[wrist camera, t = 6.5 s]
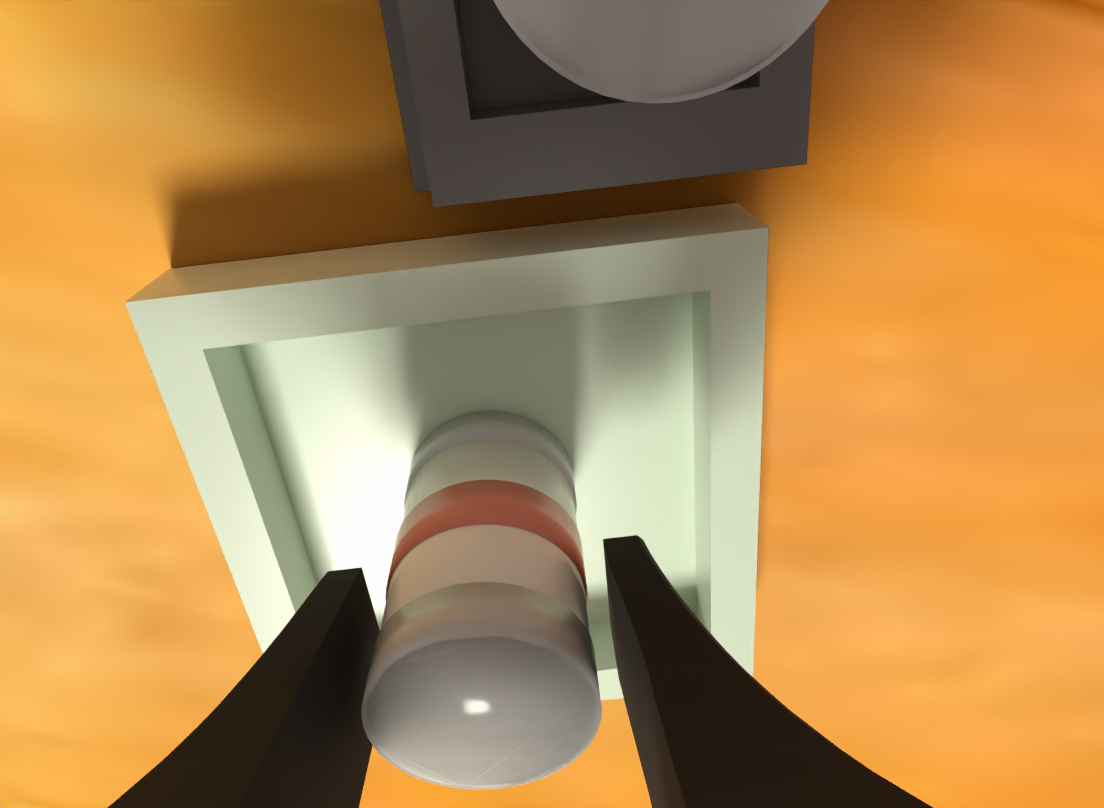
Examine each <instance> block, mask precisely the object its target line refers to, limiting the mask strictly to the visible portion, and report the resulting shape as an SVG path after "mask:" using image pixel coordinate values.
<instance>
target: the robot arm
mask: <svg viewBox="0 0 1104 808" xmlns="http://www.w3.org/2000/svg"><path fill="white" fill-rule="evenodd" d="M603 546H604V558H605V569H606V580H607V592H608V603H609V615H610V626H611V632H612V639H613V645H614V652H615V658H616V664H617V671H618V677H619V681H620V685H621V689H622V693H623V697H624V700H625V704H626V708H627V712H628V716H629V720H630V723H631V727H632V731H633V735H634V739H635V742H636V746H637V750H638V754H639V757H640V761H641V765H642V769H643V773H644V776H645V780H646V784H647V788H648V792H649V795H650V800H651V804H652V808H933V807H931V806H929V805H928V804H926V803H924V802H923V801H921V800H919V799H918V798H916V797H914V796H913V795H911V794H909V793H908V792H906V791H904V790H903V789H901V788H899V787H898V786H896V785H894V784H893V783H891V782H889V781H888V780H886V779H884V778H883V777H881V776H879V775H878V774H876V773H874V772H873V771H871V770H870V769H868V768H867V767H865V766H864V765H863V764H861V763H860V762H858V761H857V760H855V759H854V758H852V757H851V756H850V755H848V754H847V753H845V752H844V751H842V750H841V749H839V748H838V747H837V746H835V745H834V744H833V743H831V742H830V741H829V740H828V739H826V738H825V737H824V736H822V735H821V734H820V733H819V732H817V731H816V730H815V729H813V728H812V727H811V726H809V725H808V724H807V723H806V722H804V721H803V720H802V719H800V718H799V717H798V716H797V715H795V714H794V713H793V712H791V711H790V710H789V709H788V708H787V707H785V706H784V705H783V704H782V703H781V702H780V701H779V700H777V699H776V698H775V697H774V696H773V695H772V694H771V693H769V692H768V691H767V690H766V689H765V688H764V687H763V686H762V685H761V684H760V683H759V682H757V681H756V680H755V679H754V678H753V677H752V676H751V675H750V674H749V673H748V672H747V671H746V670H745V669H744V668H743V667H742V666H741V665H740V664H739V663H738V662H737V661H736V660H735V659H734V658H733V657H732V656H731V655H730V654H729V653H728V652H727V651H726V650H725V649H724V648H723V647H722V645H721V644H720V643H719V642H718V641H717V640H716V639H715V638H714V637H713V636H712V634H711V633H710V632H709V631H708V630H707V629H706V628H705V626H704V625H703V624H702V623H701V622H700V621H699V619H698V618H697V617H696V616H695V614H694V613H693V612H692V611H691V609H690V608H689V607H688V606H687V604H686V603H685V602H684V601H683V599H682V598H681V597H680V596H679V594H678V593H677V592H676V590H675V589H674V587H673V586H672V585H671V583H670V582H669V580H668V579H667V578H666V576H665V575H664V573H663V572H662V570H661V569H660V567H659V566H658V564H657V563H656V561H655V560H654V558H653V556H652V555H651V553H650V551H649V549H648V548H647V546H646V544H645V542H644V540H643V539H642V538H640V537H639V536H638V535H633V536H625V537H616V538H607V539H603ZM379 632H380V629H379V626H378V622H377V619H376V615H375V612H374V608H373V605H372V601H371V598H370V594H369V591H368V587H367V584H366V580H365V577H364V573H363V570H362V567H360V568H352V569H343V570H335V571H328V572H327V573H326V574H325V575H324V577H323V578H322V579H321V580H320V582H319V583H318V584H317V585H316V587H315V588H314V589H313V591H312V592H311V593H310V594H309V596H308V597H307V598H306V600H305V601H304V602H303V604H302V605H301V606H300V608H299V609H298V610H297V611H296V613H295V614H294V615H293V617H292V618H291V619H290V621H289V622H288V623H287V624H286V626H285V627H284V628H283V630H282V631H281V632H280V633H279V635H278V636H277V637H276V638H275V640H274V641H273V642H272V643H271V644H270V646H269V647H268V648H267V649H266V651H265V652H264V653H263V654H262V656H261V657H260V658H259V659H258V661H257V662H256V663H255V664H254V665H253V667H252V668H251V669H250V670H249V671H248V672H247V674H246V675H245V676H244V677H243V678H242V679H241V680H240V681H239V683H238V684H237V685H236V686H235V687H234V688H233V689H232V691H231V692H230V693H229V694H228V695H227V696H226V697H225V698H224V700H223V701H222V702H221V703H220V704H219V705H218V706H217V707H216V708H215V710H214V711H213V712H212V713H211V714H210V715H209V716H208V717H207V718H206V719H205V720H204V721H203V722H202V723H201V724H200V725H199V726H198V727H197V728H196V729H195V730H194V731H193V732H192V733H191V734H190V735H189V736H188V737H187V738H186V739H185V740H184V741H183V742H182V743H181V744H179V745H178V746H177V747H176V748H175V749H174V750H173V751H172V752H171V753H170V754H169V755H168V756H167V757H166V758H165V759H164V760H163V761H161V762H160V763H159V764H158V765H157V766H156V767H155V768H153V769H152V770H151V771H150V772H149V773H148V774H146V775H145V776H144V777H143V778H142V779H141V780H139V781H138V782H137V783H136V784H135V785H134V786H132V787H131V788H130V789H129V790H128V791H127V792H125V793H124V794H123V795H122V796H121V797H120V798H119V799H117V800H116V801H115V802H114V803H113V804H112V805H110V806H109V807H108V808H359V803H360V799H361V794H362V790H363V785H364V781H365V776H366V772H367V767H368V763H369V758H370V754H371V749H372V743H371V742H370V740H369V739H368V737H367V735H366V732H365V730H364V727H363V722H362V702H363V698H364V693H365V688H366V683H367V678H368V673H369V668H370V663H371V659H372V654H373V649H374V645H375V641H376V639H377V637H378V634H379Z"/></svg>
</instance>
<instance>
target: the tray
mask: <svg viewBox="0 0 1104 808" xmlns="http://www.w3.org/2000/svg"><path fill="white" fill-rule="evenodd" d="M768 235H769V227H768V226H766V225H765V224H764V223H763V222H761V221H760V220H759V219H758V218H756V217H755V216H754V215H753V214H751V213H750V212H749V211H748V210H746V209H745V208H744V207H742V206H741V205H740V204H739V203H730V204H722V205H713V206H704V207H696V208H687V209H679V210H670V211H661V212H653V213H644V214H636V215H627V216H618V217H610V218H601V219H593V220H584V221H575V222H567V223H558V224H550V225H541V226H532V227H524V228H515V229H507V230H498V231H489V232H481V233H472V234H464V235H455V236H446V237H438V238H429V239H421V240H412V241H403V242H395V243H386V244H378V245H369V246H360V247H352V248H343V249H335V250H326V251H317V252H309V253H300V254H292V255H283V256H274V257H266V258H257V259H249V260H240V261H231V262H223V263H214V264H206V265H197V266H188V267H180V268H171V269H169V270H167V271H166V272H165V273H163V274H162V275H161V276H159V277H158V278H157V279H155V280H154V281H153V282H151V283H150V284H149V285H147V286H146V287H145V288H143V289H142V290H141V291H139V292H138V293H137V294H135V295H134V296H133V297H131V298H130V299H129V300H127V301H126V302H125V304H126V306H127V309H128V311H129V314H130V317H131V319H132V322H133V324H134V327H135V329H136V332H137V334H138V337H139V339H140V342H141V344H142V347H143V350H144V352H145V355H146V357H147V360H148V362H149V365H150V367H151V370H152V372H153V375H154V378H155V380H156V383H157V385H158V388H159V390H160V393H161V395H162V398H163V400H164V403H165V406H166V408H167V411H168V413H169V416H170V418H171V421H172V423H173V426H174V428H175V431H176V434H177V436H178V439H179V441H180V444H181V446H182V449H183V451H184V454H185V456H186V459H187V461H188V464H189V467H190V469H191V472H192V474H193V477H194V479H195V482H196V484H197V487H198V489H199V492H200V495H201V497H202V500H203V502H204V505H205V507H206V510H207V512H208V515H209V517H210V520H211V523H212V525H213V528H214V530H215V533H216V535H217V538H218V540H219V543H220V545H221V548H222V551H223V553H224V556H225V558H226V561H227V563H228V566H229V568H230V571H231V573H232V576H233V578H234V581H235V584H236V586H237V589H238V591H239V594H240V596H241V599H242V601H243V604H244V606H245V609H246V612H247V614H248V617H249V619H250V622H251V624H252V627H253V629H254V632H255V634H256V637H257V640H258V642H259V645H260V647H261V650H262V652H263V653H264V652H265V651H266V649H267V648H268V647H269V646H270V644H271V643H272V642H273V641H274V640H275V638H276V637H277V636H278V635H279V633H280V632H281V631H282V630H283V628H284V627H285V626H286V624H287V623H288V622H289V621H290V619H291V618H292V617H293V615H294V614H295V613H296V611H297V610H298V609H299V608H300V606H301V605H302V604H303V602H304V601H305V600H306V598H307V597H308V596H309V594H310V593H311V592H312V591H313V589H314V588H315V587H316V585H317V584H318V583H319V582H320V580H321V579H322V578H323V577H324V575H325V574H326V573H327V572H328V571H335V570H343V569H352V568H360V567H362V570H363V573H364V577H365V580H366V584H367V587H368V591H369V594H370V598H371V601H372V605H373V608H374V612H375V615H376V619H377V622H378V626H379V629H380V630H381V625H382V620H383V615H384V610H385V605H386V600H385V596H386V586H387V581H388V576H389V571H390V566H391V561H392V556H393V552H394V547H395V542H396V537H397V533H398V531H399V529H400V526H401V524H402V520H403V515H404V498H405V493H406V488H407V483H408V478H409V474H410V469H411V464H412V460H413V458H414V455H415V453H416V451H417V449H418V448H419V446H420V444H421V443H422V442H423V441H424V440H425V438H426V437H427V436H428V435H429V434H430V433H432V432H433V431H434V430H435V429H437V428H438V427H439V426H441V425H442V424H444V423H446V422H448V421H450V420H452V419H455V418H457V417H460V416H463V415H467V414H471V413H477V412H493V411H496V412H506V413H511V414H516V415H519V416H522V417H525V418H528V419H530V420H532V421H534V422H536V423H538V424H540V425H541V426H543V427H545V428H546V429H547V430H548V431H550V432H551V433H552V434H553V435H554V436H555V437H556V438H557V439H558V440H559V441H560V442H561V444H562V445H563V447H564V448H565V450H566V452H567V454H568V456H569V458H570V461H571V464H572V468H573V476H574V484H575V493H576V501H577V512H576V521H577V529H578V531H579V534H580V537H581V543H582V550H583V559H584V567H585V575H586V583H587V592H588V598H587V606H586V607H587V616H588V624H589V633H590V636H591V639H592V642H593V645H594V650H595V658H596V666H597V674H598V683H599V691H600V699H601V700H610V699H618V698H624V697H623V693H622V689H621V685H620V681H619V677H618V671H617V664H616V658H615V652H614V645H613V639H612V632H611V626H610V615H609V603H608V592H607V580H606V569H605V558H604V546H603V539H607V538H616V537H625V536H633V535H638V536H639V537H640V538H642V539H643V540H644V542H645V544H646V546H647V548H648V549H649V551H650V553H651V555H652V556H653V558H654V560H655V561H656V563H657V564H658V566H659V567H660V569H661V570H662V572H663V573H664V575H665V576H666V578H667V579H668V580H669V582H670V583H671V585H672V586H673V587H674V589H675V590H676V592H677V593H678V594H679V596H680V597H681V598H682V599H683V601H684V602H685V603H686V604H687V606H688V607H689V608H690V609H691V611H692V612H693V613H694V614H695V616H696V617H697V618H698V619H699V621H700V622H701V623H702V624H703V625H704V626H705V628H706V629H707V630H708V631H709V632H710V633H711V634H712V636H713V637H714V638H715V639H716V640H717V641H718V642H719V643H720V644H721V645H722V647H723V648H724V649H725V650H726V651H727V652H728V653H729V654H730V655H731V656H732V657H733V658H734V659H735V660H736V661H737V662H738V663H739V664H740V665H741V666H742V667H743V668H744V669H745V670H746V671H747V672H748V673H749V674H750V675H751V676H752V677H753V658H754V630H755V602H756V574H757V546H758V517H759V489H760V461H761V433H762V405H763V376H764V348H765V320H766V292H767V263H768Z"/></svg>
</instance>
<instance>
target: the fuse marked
mask: <svg viewBox="0 0 1104 808" xmlns="http://www.w3.org/2000/svg"><path fill="white" fill-rule="evenodd" d="M576 512H577V501H576V493H575V484H574V476H573V468H572V464H571V461H570V458H569V456H568V454H567V452H566V450H565V448H564V447H563V445H562V444H561V442H560V441H559V440H558V439H557V438H556V437H555V436H554V435H553V434H552V433H551V432H550V431H548V430H547V429H546V428H545V427H543V426H541V425H540V424H538V423H536V422H534V421H532V420H530V419H528V418H525V417H522V416H519V415H516V414H511V413H506V412H496V411H493V412H477V413H471V414H467V415H463V416H460V417H457V418H455V419H452V420H450V421H448V422H446V423H444V424H442V425H441V426H439V427H438V428H437V429H435V430H434V431H433V432H432V433H430V434H429V435H428V436H427V437H426V438H425V440H424V441H423V442H422V443H421V444H420V446H419V448H418V449H417V451H416V453H415V455H414V458H413V460H412V464H411V469H410V474H409V478H408V483H407V488H406V493H405V498H404V515H403V520H402V524H401V526H400V529H399V531H398V533H397V537H396V542H395V547H394V552H393V556H392V561H391V566H390V571H389V576H388V581H387V586H386V596H385V600H386V605H385V610H384V615H383V620H382V625H381V630H380V632H379V634H378V637H377V639H376V641H375V645H374V649H373V654H372V659H371V663H370V668H369V673H368V678H367V683H366V688H365V693H364V698H363V702H362V722H363V727H364V730H365V732H366V735H367V737H368V739H369V740H370V742H371V743H372V745H373V746H374V748H375V749H376V750H377V751H378V752H379V753H380V755H382V756H383V757H384V758H385V759H386V760H387V761H388V762H390V763H391V764H393V765H394V766H396V767H397V768H398V769H400V770H402V771H404V772H406V773H408V774H410V775H412V776H414V777H417V778H419V779H422V780H424V781H427V782H431V783H434V784H438V785H443V786H448V787H453V788H462V789H498V788H506V787H512V786H517V785H522V784H526V783H529V782H533V781H536V780H539V779H541V778H544V777H546V776H549V775H551V774H553V773H555V772H557V771H559V770H560V769H562V768H564V767H565V766H567V765H568V764H570V763H571V762H572V761H574V760H575V759H576V758H577V757H578V756H580V755H581V754H582V753H583V751H584V750H585V749H586V748H587V747H588V746H589V744H590V743H591V741H592V740H593V739H594V737H595V735H596V732H597V730H598V728H599V724H600V720H601V711H602V708H601V699H600V691H599V683H598V674H597V666H596V658H595V650H594V645H593V642H592V639H591V636H590V633H589V624H588V616H587V607H586V606H587V598H588V592H587V583H586V575H585V567H584V559H583V550H582V543H581V537H580V534H579V531H578V529H577V521H576Z"/></svg>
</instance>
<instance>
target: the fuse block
mask: <svg viewBox="0 0 1104 808" xmlns="http://www.w3.org/2000/svg"><path fill="white" fill-rule="evenodd" d="M379 1H380V6H381V11H382V17H383V22H384V28H385V33H386V38H387V44H388V49H389V55H390V60H391V65H392V71H393V76H394V81H395V87H396V92H397V98H398V103H399V108H400V114H401V119H402V125H403V130H404V135H405V141H406V146H407V152H408V157H409V162H410V168H411V173H412V178H413V184H414V189H415V193H416V192H424V191H431V197H432V202H433V207H441V206H450V205H459V204H467V203H476V202H484V201H493V200H502V199H510V198H519V197H527V196H536V195H545V194H553V193H562V192H570V191H579V190H588V189H596V188H605V187H614V186H622V185H631V184H639V183H648V182H657V181H665V180H674V179H682V178H691V177H700V176H708V175H717V174H725V173H734V172H743V171H751V170H760V169H768V168H777V167H786V166H794V165H803V164H807V146H808V129H809V111H810V94H811V76H812V59H813V41H814V24H815V20H814V21H813V22H812V24H811V25H810V26H809V27H808V28H807V30H806V31H805V32H804V33H803V34H802V35H801V36H800V37H799V38H798V39H797V40H796V41H795V42H794V43H793V44H792V45H791V46H790V47H789V48H788V49H787V50H786V51H784V52H783V53H782V54H781V55H780V56H778V57H777V58H776V59H775V60H774V61H772V62H771V63H770V64H769V65H767V66H766V67H764V68H763V69H761V70H760V71H758V72H756V73H755V74H753V75H752V76H750V77H749V78H747V79H745V80H743V81H741V82H739V83H737V84H735V85H733V86H731V87H729V88H727V89H725V90H722V91H719V92H716V93H713V94H710V95H707V96H704V97H701V98H697V99H692V100H686V101H681V102H675V103H654V104H650V103H640V102H630V101H624V100H620V99H616V98H612V97H608V96H604V95H601V94H599V93H596V92H594V91H591V90H589V89H586V88H584V87H581V86H579V85H578V84H576V83H574V82H573V81H571V80H569V79H567V78H566V77H564V76H562V75H560V74H559V73H557V72H556V71H555V70H554V69H552V68H551V67H550V66H548V65H547V64H546V63H545V62H543V61H542V60H541V59H539V58H538V57H537V56H536V55H535V54H534V53H533V52H532V51H531V50H530V49H529V48H528V47H527V46H526V45H525V44H524V43H523V42H522V40H521V39H520V38H519V37H518V36H517V34H516V33H515V32H514V31H513V29H512V28H511V27H510V25H509V24H508V23H507V21H506V20H505V19H504V17H503V16H502V14H501V13H500V11H499V9H498V7H497V6H496V4H495V2H494V1H493V0H379Z"/></svg>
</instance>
